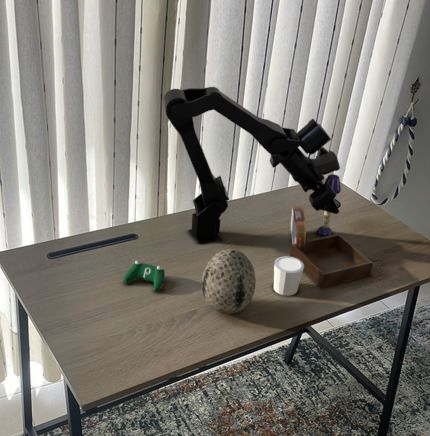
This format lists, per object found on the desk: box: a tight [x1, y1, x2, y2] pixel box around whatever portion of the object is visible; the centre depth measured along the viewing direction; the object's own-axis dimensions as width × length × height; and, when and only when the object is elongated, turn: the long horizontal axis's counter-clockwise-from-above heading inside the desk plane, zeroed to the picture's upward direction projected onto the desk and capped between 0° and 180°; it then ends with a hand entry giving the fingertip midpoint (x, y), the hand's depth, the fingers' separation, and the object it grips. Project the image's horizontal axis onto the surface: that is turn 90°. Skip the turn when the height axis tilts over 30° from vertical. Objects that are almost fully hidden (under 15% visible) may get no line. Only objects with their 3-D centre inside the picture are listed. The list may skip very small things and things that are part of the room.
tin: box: [290, 205, 307, 252], centre depth 173 cm, size 15×3×8 cm, turn 179°
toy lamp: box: [315, 173, 342, 238], centre depth 176 cm, size 5×5×17 cm
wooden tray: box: [289, 233, 374, 289], centre depth 167 cm, size 14×14×4 cm
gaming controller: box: [122, 260, 166, 293], centre depth 156 cm, size 9×4×6 cm
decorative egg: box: [201, 248, 257, 315], centre depth 146 cm, size 12×12×15 cm
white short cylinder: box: [273, 255, 304, 297], centre depth 157 cm, size 7×7×7 cm
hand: (332, 204), depth 176 cm, fingers open, 9 cm apart
